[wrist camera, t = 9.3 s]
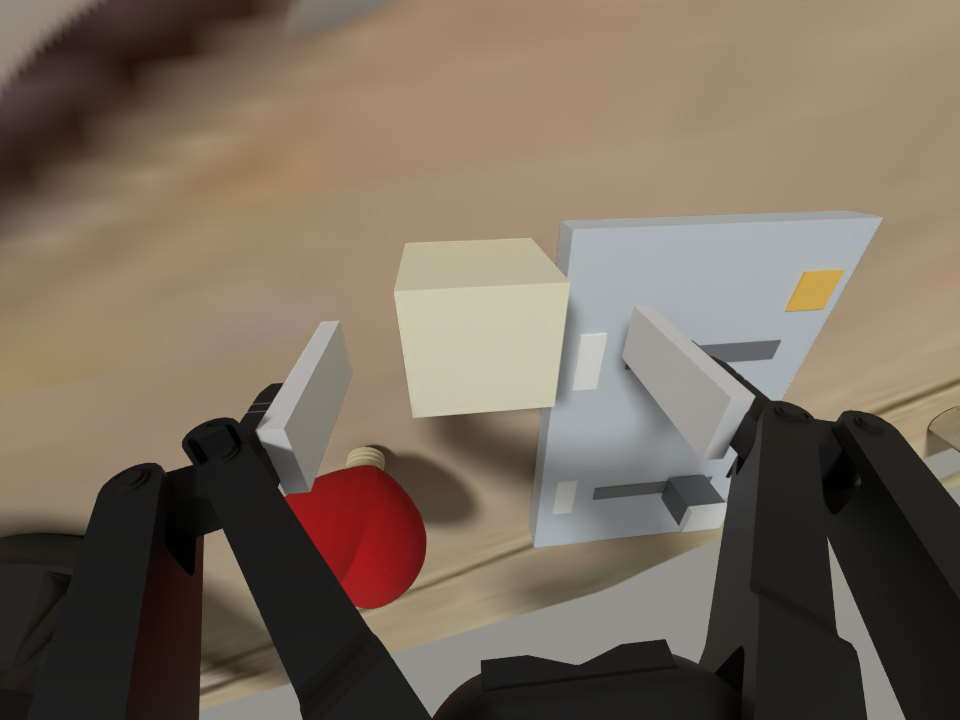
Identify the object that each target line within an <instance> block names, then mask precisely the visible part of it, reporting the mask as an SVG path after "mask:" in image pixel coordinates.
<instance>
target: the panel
mask: <svg viewBox="0 0 960 720" xmlns="http://www.w3.org/2000/svg"><path fill="white" fill-rule="evenodd" d="M882 219H883V217H879V216H874V215H869V214H864V213H859V212H854V211H849V210H841V211H813V212H786V213H758V214H731V215H704V216H676V217H649V218H621V219H594V220H566V221H561V228H560V237H559V247H558V256H557V266H556V267H557V268H558V269H559V270H560V271H561V272H562V273H563V274H564V276H565V277H566V278H567V279H568V280H569V281H570V289H569V297H568V305H567V312H566V320H565V328H564V336H563V343H562V351H561V359H560V367H559V374H558V382H557V390H556V398H555V405H554V407H542V409H541V419H540V428H539V438H538V448H537V457H536V467H535V476H534V486H533V495H532V505H531V514H530V524H529V529H530V533H531V537H532V542H533V546H534V548H537V547H546V546H555V545H564V544H572V543H581V542H590V541H599V540H607V539H616V538H625V537H634V536H642V535H651V534H660V533H669V532H677V531H681V529H680V528H679V526H678V525H677V523H676V521H675V520H674V518H673V516H672V515H671V513H670V512H669V510H668V508H667V507H666V505H665V503H664V502H663V500H662V499H661V497H662V495H663V492H664V490H665V488H666V485H667V483H668V480H669V478H679V477H688V476H698V475H705V477H706V478H707V479H708V480H709V482H710V483H711V484H712V486H713V487H714V488H715V489H716V491H717V492H718V493H719V495H720V496H721V497H722V498H723V500H724V501H725V499H726V497H727V496H728V494H729V488H730V482H731V476H730V478H726V475H727V473H728V471H729V469H730V467H731V466H732V464H733V462H734V460H735V458H736V456H737V455H738V454H737V453H736V452H735V451H734V449H733V448H732V447H731V446H730V447H729V449H728V451H727V453H726V455H725V456H724V458H723V459H714V460H701V458H700V457H699V456H698V454H697V453H696V452H695V451H694V449H693V448H692V447H691V445H690V444H689V443H688V442H687V440H686V439H685V438H684V436H683V435H682V434H681V433H680V431H679V430H678V429H677V427H676V426H675V425H674V424H673V422H672V421H671V420H670V418H669V417H668V416H667V415H666V413H665V412H664V411H663V409H662V408H661V407H660V406H659V404H658V403H657V402H656V401H655V399H654V398H653V397H652V396H651V394H650V393H649V392H648V391H647V390H646V388H645V387H644V386H643V385H642V383H641V382H640V381H639V380H638V379H637V377H636V375H635V373H634V372H633V371H632V370H631V368H630V367H629V366H628V364H627V363H626V362H625V361H624V359H623V358H622V354H623V350H624V346H625V342H626V338H627V334H628V330H629V325H630V321H631V317H632V313H633V309H634V306H649V305H650V306H652V307H653V308H654V309H655V310H656V311H657V312H659V313H660V314H661V315H662V316H663V317H664V318H665V319H667V320H668V321H669V322H670V323H671V324H672V325H674V326H675V327H676V328H677V329H678V330H679V331H681V332H682V333H683V334H684V335H685V336H686V337H687V338H689V339H690V340H693V341H694V342H696V343H697V344H698V345H699V346H701V347H702V348H703V349H704V350H706V351H707V352H708V353H709V354H710V355H712V356H714V357H715V358H717V359H719V360H721V361H723V362H725V363H727V364H728V365H729V366H731V367H732V368H733V369H734V370H735V371H736V373H739V374H740V375H741V376H743V377H744V379H745V380H747V381H749V382H750V383H751V384H752V385H753V386H755V387H756V388H757V389H758V390H759V391H761V392H762V393H763V394H764V395H765V396H767V397H768V398H769V399H770V400H771V401H781V399H782V398H783V396H784V394H785V392H786V390H787V389H788V387H789V385H790V383H791V382H792V380H793V378H794V376H795V374H796V373H797V371H798V369H799V367H800V365H801V364H802V362H803V360H804V358H805V357H806V355H807V353H808V351H809V349H810V348H811V346H812V344H813V342H814V340H815V339H816V337H817V335H818V333H819V332H820V330H821V328H822V326H823V324H824V323H825V321H826V319H827V317H828V316H829V314H830V312H831V310H832V308H833V307H834V305H835V303H836V301H837V299H838V298H839V296H840V294H841V292H842V291H843V289H844V287H845V285H846V283H847V282H848V280H849V278H850V276H851V274H852V273H853V271H854V269H855V267H856V266H857V264H858V262H859V260H860V258H861V257H862V255H863V253H864V251H865V250H866V248H867V246H868V244H869V242H870V241H871V239H872V237H873V235H874V233H875V232H876V230H877V228H878V226H879V225H880V223H881V221H882Z"/></svg>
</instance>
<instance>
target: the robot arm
mask: <svg viewBox="0 0 960 720" xmlns="http://www.w3.org/2000/svg"><path fill="white" fill-rule="evenodd" d="M622 358H623V359H624V361H625V362H626V363H627V364H628V366H629V367H630V368H631V370H632V371H633V372H634V373H635V375H636V376H637V377H638V379H639V380H640V381H641V382H642V384H643V385H644V386H645V388H646V389H647V390H648V391H649V393H650V394H651V395H652V397H653V398H654V399H655V400H656V402H657V403H658V404H659V406H660V407H661V408H662V409H663V411H664V412H665V413H666V415H667V416H668V417H669V418H670V420H671V421H672V422H673V424H674V425H675V426H676V427H677V429H678V430H679V431H680V433H681V434H682V435H683V436H684V438H685V439H686V440H687V442H688V443H689V444H690V445H691V447H692V448H693V449H694V451H695V452H696V453H697V454H698V456H699V457H700V458H701V460H714V459H723V458H724V456H725V455H726V453H727V451H728V449H729V447H730V446H731V447H732V448H733V449H734V451H735V452H736V453H737V454H738V455H737V456H736V458H735V460H734V462H733V464H732V466H731V467H730V469H729V471H728V473H727V475H726V478H730V476H731V482H730V488H729V495H728V501H727V508H726V514H725V521H724V527H723V534H722V541H721V547H720V554H719V560H718V567H717V574H716V580H715V587H714V593H713V600H712V607H711V613H710V619H709V626H708V633H707V639H706V644H705V648H704V651H703V654H702V656H701V659H700V661H699V664H697V663H695V662H693V661H691V660H689V659H686V658H683V657H680V656H677V655H674V654H672V653H671V651H670V649H669V646H668V644H667V642H666V640H665V639H663V640H654V641H645V642H637V643H628V644H621V645H619V646H617V647H615V648H613V649H611V650H609V651H607V652H605V653H603V654H601V655H599V656H597V657H595V658H593V659H591V660H589V661H587V662H585V663H583V664H580V665H573V664H568V663H563V662H558V661H553V660H548V659H544V658H539V657H534V656H529V655H524V656H516V657H507V658H498V659H490V660H481V674H479V675H477V676H475V677H473V678H471V679H469V680H468V681H466V682H465V683H464V684H462V685H460V687H458V688H457V689H456V690H455V691H454V692H453V693H452V694H450V695H449V697H448V698H447V699H446V700H445V701H444V702H443V704H442V705H441V706H440V707H439V709H438V711H437V712H436V714H435V715H434V716H433V718H431V716H430V715H429V714H428V712H427V710H426V709H425V707H424V706H423V704H422V703H421V701H420V700H419V698H418V697H417V695H416V694H415V692H414V691H413V689H412V688H411V686H410V685H409V683H408V681H407V680H406V679H405V677H404V675H403V674H402V672H401V671H400V669H399V668H398V666H397V665H396V663H395V662H394V660H393V659H392V657H391V656H390V654H389V653H388V651H387V650H386V648H385V647H384V645H383V644H382V642H381V641H380V640H379V638H378V637H377V636H376V635H375V634H373V633H372V631H371V630H370V629H369V627H368V626H367V624H366V623H365V621H364V619H363V618H362V616H361V615H360V613H359V612H358V610H357V609H356V607H355V606H354V604H353V603H352V601H351V599H350V598H349V596H348V595H347V593H346V592H345V590H344V589H343V587H342V586H341V584H340V583H339V581H338V579H337V578H336V576H335V575H334V573H333V572H332V570H331V569H330V567H329V566H328V564H327V563H326V561H325V559H324V558H323V556H322V555H321V553H320V552H319V550H318V549H317V547H316V546H315V544H314V543H313V541H312V540H311V538H310V536H309V535H308V533H307V532H306V530H305V529H304V527H303V526H302V524H301V523H300V521H299V520H298V518H297V516H296V515H295V513H294V512H293V510H292V509H291V507H290V506H289V504H288V503H287V501H286V500H285V498H284V496H283V495H282V493H281V492H280V490H279V489H278V485H279V483H280V484H281V486H282V488H283V490H284V492H285V494H294V493H306V492H310V491H311V489H312V486H313V483H314V480H315V477H316V475H317V472H318V469H319V466H320V463H321V461H322V458H323V455H324V452H325V449H326V447H327V444H328V441H329V438H330V435H331V433H332V430H333V427H334V424H335V421H336V418H337V416H338V413H339V410H340V407H341V404H342V402H343V399H344V396H345V393H346V390H347V388H348V385H349V382H350V379H351V376H352V374H353V372H352V368H351V364H350V360H349V356H348V352H347V348H346V344H345V340H344V336H343V332H342V328H341V324H340V321H324V322H321V323H320V325H319V327H318V328H317V330H316V331H315V333H314V335H313V336H312V338H311V340H310V341H309V343H308V345H307V346H306V348H305V350H304V351H303V353H302V354H301V356H300V358H299V359H298V361H297V363H296V364H295V366H294V368H293V369H292V371H291V373H290V374H289V376H288V377H287V379H286V381H285V382H284V383H276V384H271V385H269V386H268V387H267V388H266V389H264V390H263V391H262V392H260V393H259V395H258V396H257V398H256V399H255V401H254V402H253V405H251V407H250V408H249V410H248V413H246V414H245V416H244V417H243V419H242V420H241V422H240V423H238V421H236V420H235V419H233V418H226V417H224V418H217V419H213V420H210V421H207V422H204V423H202V424H201V425H199V426H197V427H195V428H194V429H192V430H191V431H190V432H189V433H188V434H187V435H186V436H185V438H184V439H183V441H182V448H183V449H184V451H185V452H186V454H187V456H188V457H189V459H190V460H191V462H192V463H193V465H191V466H187V467H184V468H180V469H177V470H173V471H170V472H165V471H164V469H163V468H162V467H161V466H160V465H158V464H156V463H143V464H139V465H135V466H133V467H130V468H128V469H126V470H123V471H122V472H120V473H119V474H117V475H115V476H114V477H112V478H111V479H110V480H109V481H108V482H107V483H106V484H104V485H103V487H102V488H101V490H100V492H99V493H98V496H97V499H96V502H95V506H94V509H93V512H92V515H91V518H90V521H89V524H88V527H87V531H86V534H85V537H84V538H78V537H71V536H61V535H20V536H11V537H5V538H0V720H199V698H200V661H201V624H202V587H203V551H204V535H205V534H208V533H211V532H214V531H216V530H219V529H222V528H223V530H224V533H225V535H226V537H227V539H228V542H229V544H230V546H231V548H232V551H233V553H234V555H235V557H236V560H237V562H238V564H239V566H240V569H241V571H242V573H243V575H244V578H245V580H246V582H247V584H248V587H249V589H250V591H251V593H252V596H253V598H254V600H255V602H256V604H257V607H258V609H259V611H260V613H261V616H262V618H263V620H264V622H265V625H266V627H267V629H268V631H269V634H270V636H271V638H272V640H273V643H274V645H275V647H276V649H277V652H278V654H279V656H280V658H281V661H282V663H283V665H284V667H285V670H286V672H287V674H288V676H289V679H290V681H291V683H292V685H293V687H294V690H295V692H296V695H297V697H298V699H299V703H300V712H301V715H302V718H303V720H867V713H866V706H865V699H864V692H863V684H862V677H861V670H860V663H859V659H858V655H857V651H856V650H855V648H854V647H853V646H852V644H851V643H850V642H848V641H846V640H844V639H842V638H840V637H839V636H838V634H837V629H836V620H835V610H834V600H833V590H832V580H831V571H830V560H829V550H828V540H827V537H828V539H829V541H830V544H831V546H832V548H833V551H834V553H835V555H836V558H837V560H838V562H839V565H840V567H841V569H842V572H843V574H844V576H845V579H846V581H847V583H848V586H849V588H850V590H851V593H852V595H853V597H854V600H855V602H856V604H857V607H858V609H859V611H860V614H861V616H862V618H863V621H864V623H865V625H866V628H867V630H868V632H869V635H870V637H871V639H872V642H873V644H874V646H875V649H876V651H877V653H878V656H879V658H880V660H881V663H882V665H883V667H884V670H885V672H886V674H887V677H888V679H889V681H890V684H891V686H892V688H893V691H894V693H895V695H896V698H897V700H898V702H899V705H900V707H901V709H902V712H903V714H904V716H905V719H906V720H960V507H959V506H958V504H957V503H956V502H955V501H954V499H953V498H952V497H951V496H950V495H949V493H948V492H947V491H946V489H945V488H944V487H943V486H942V484H941V483H940V482H939V481H938V479H937V478H936V477H935V476H934V474H933V473H932V472H931V471H930V470H929V468H928V467H927V466H926V465H925V463H924V462H923V461H922V460H921V458H920V457H919V456H918V455H917V453H916V452H915V451H914V450H913V448H912V447H911V446H910V445H909V443H908V442H907V441H906V440H905V438H904V437H903V436H902V435H901V434H900V432H899V431H898V430H897V429H896V428H895V427H894V426H893V425H891V424H890V423H888V422H886V421H885V420H883V419H882V418H880V417H878V416H875V415H873V414H870V413H865V412H861V411H852V410H849V411H844V412H843V413H842V414H841V415H840V417H839V418H838V420H837V421H836V422H832V421H825V420H818V419H814V417H813V416H812V415H811V414H810V413H808V412H807V411H806V410H804V409H802V408H801V407H799V406H796V405H794V404H791V403H788V402H783V401H771V400H770V399H769V398H768V397H767V396H765V395H764V394H763V393H762V392H761V391H759V390H758V389H757V388H756V387H755V386H753V385H752V384H751V383H750V382H749V381H747V380H745V379H744V377H743V376H741V375H740V374H739V373H736V371H735V370H734V369H733V368H732V367H731V366H729V365H728V364H727V363H725V362H723V361H721V360H719V359H717V358H715V357H714V356H710V357H709V356H708V355H707V354H706V353H705V352H704V351H703V350H701V349H700V348H699V347H698V346H697V345H696V344H694V343H693V342H692V341H691V340H690V339H689V338H687V337H686V336H685V335H684V334H683V333H682V332H681V331H679V330H678V329H677V328H676V327H675V326H674V325H672V324H671V323H670V322H669V321H668V320H667V319H665V318H664V317H663V316H662V315H661V314H660V313H659V312H657V311H656V310H655V309H654V308H653V307H652V306H650V305H649V306H634V309H633V313H632V317H631V321H630V325H629V330H628V334H627V338H626V342H625V346H624V350H623V354H622ZM860 483H861V484H860Z"/></svg>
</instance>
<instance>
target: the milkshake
mask: <svg viewBox="0 0 960 720" xmlns="http://www.w3.org/2000/svg"><path fill="white" fill-rule="evenodd" d="M929 430H930V431H931V433H932V434H934V435H935V436H936V437H938V438H939V439H941V440H942V441H944V442H945V443H946V444H948V445H949V446H951V447H952V448H954V449H955V450H957V451H958V452H960V407H954V408H952V409H950V410H947V411H945V412H943V413H942V414H941V415H939V416H938V417H937V418H935V419H934V420H933V421H932V423H931V425H930V426H929Z"/></svg>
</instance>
